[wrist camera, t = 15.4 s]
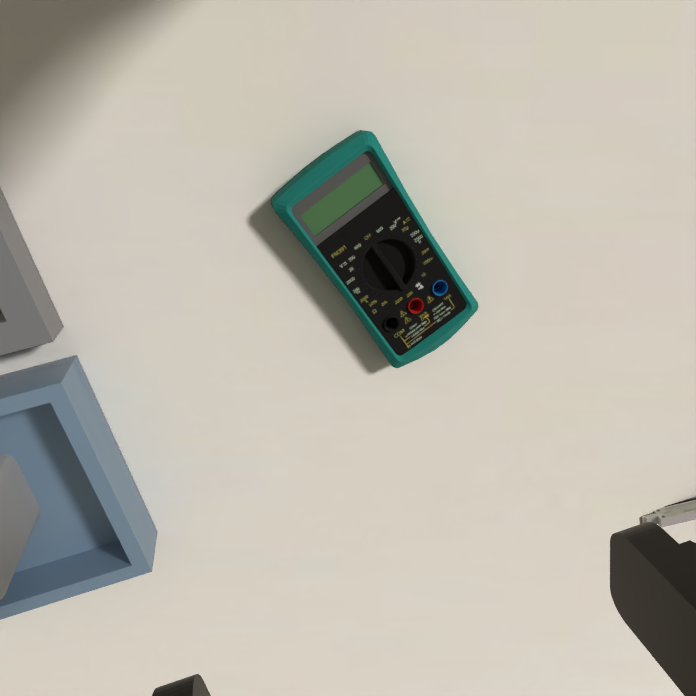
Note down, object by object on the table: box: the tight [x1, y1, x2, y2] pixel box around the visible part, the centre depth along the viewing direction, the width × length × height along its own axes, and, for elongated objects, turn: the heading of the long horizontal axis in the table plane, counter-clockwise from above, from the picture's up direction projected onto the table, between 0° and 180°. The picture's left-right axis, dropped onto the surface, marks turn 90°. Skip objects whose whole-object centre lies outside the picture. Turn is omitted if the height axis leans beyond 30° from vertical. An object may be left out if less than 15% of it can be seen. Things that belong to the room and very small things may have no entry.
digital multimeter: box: [271, 130, 478, 368], centre depth 36 cm, size 7×15×3 cm, turn 35°
